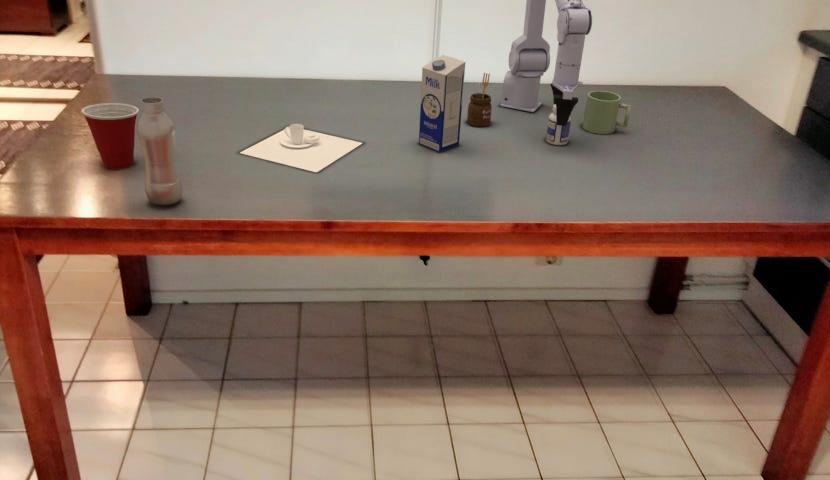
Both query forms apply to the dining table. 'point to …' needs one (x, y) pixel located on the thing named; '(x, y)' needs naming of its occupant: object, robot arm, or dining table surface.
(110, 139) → the plastic cup
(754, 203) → the dining table surface
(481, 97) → the utensil holder
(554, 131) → the pill bottle
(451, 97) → the milk carton
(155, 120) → the plastic bottle
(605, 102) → the mug
